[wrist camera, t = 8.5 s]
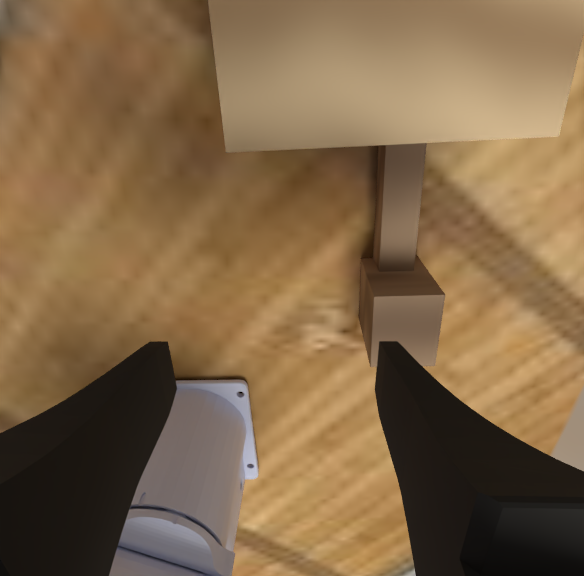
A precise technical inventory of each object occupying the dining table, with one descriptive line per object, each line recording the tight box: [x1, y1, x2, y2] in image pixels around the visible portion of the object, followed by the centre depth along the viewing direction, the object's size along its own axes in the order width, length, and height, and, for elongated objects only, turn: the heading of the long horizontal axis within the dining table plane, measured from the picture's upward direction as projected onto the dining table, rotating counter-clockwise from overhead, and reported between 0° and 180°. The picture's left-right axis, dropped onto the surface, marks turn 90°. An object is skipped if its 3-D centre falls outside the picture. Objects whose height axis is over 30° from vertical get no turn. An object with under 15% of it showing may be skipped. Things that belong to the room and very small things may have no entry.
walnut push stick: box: [359, 143, 445, 367], centre depth 18 cm, size 16×5×5 cm, turn 3°
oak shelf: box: [208, 0, 584, 153], centre depth 15 cm, size 8×12×6 cm, turn 93°
